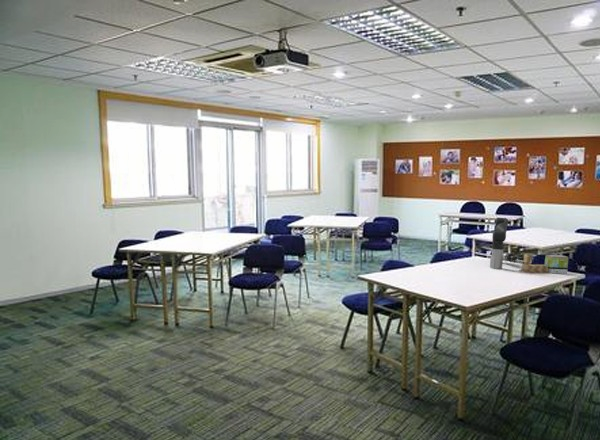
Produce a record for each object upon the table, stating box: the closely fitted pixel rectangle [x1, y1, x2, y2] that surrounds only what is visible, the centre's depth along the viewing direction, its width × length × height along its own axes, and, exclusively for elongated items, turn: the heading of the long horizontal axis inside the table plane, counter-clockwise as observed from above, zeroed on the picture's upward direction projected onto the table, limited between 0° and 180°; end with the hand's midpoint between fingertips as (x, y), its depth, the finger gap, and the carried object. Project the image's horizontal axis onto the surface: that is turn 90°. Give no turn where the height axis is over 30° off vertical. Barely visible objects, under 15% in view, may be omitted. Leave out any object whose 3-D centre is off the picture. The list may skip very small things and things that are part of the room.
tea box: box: [544, 254, 569, 274], centre depth 396 cm, size 15×10×15 cm, turn 97°
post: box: [523, 253, 532, 265], centre depth 404 cm, size 4×4×14 cm
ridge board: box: [519, 263, 551, 274], centre depth 394 cm, size 20×13×6 cm, turn 100°
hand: (519, 259), depth 415 cm, fingers open, 8 cm apart
